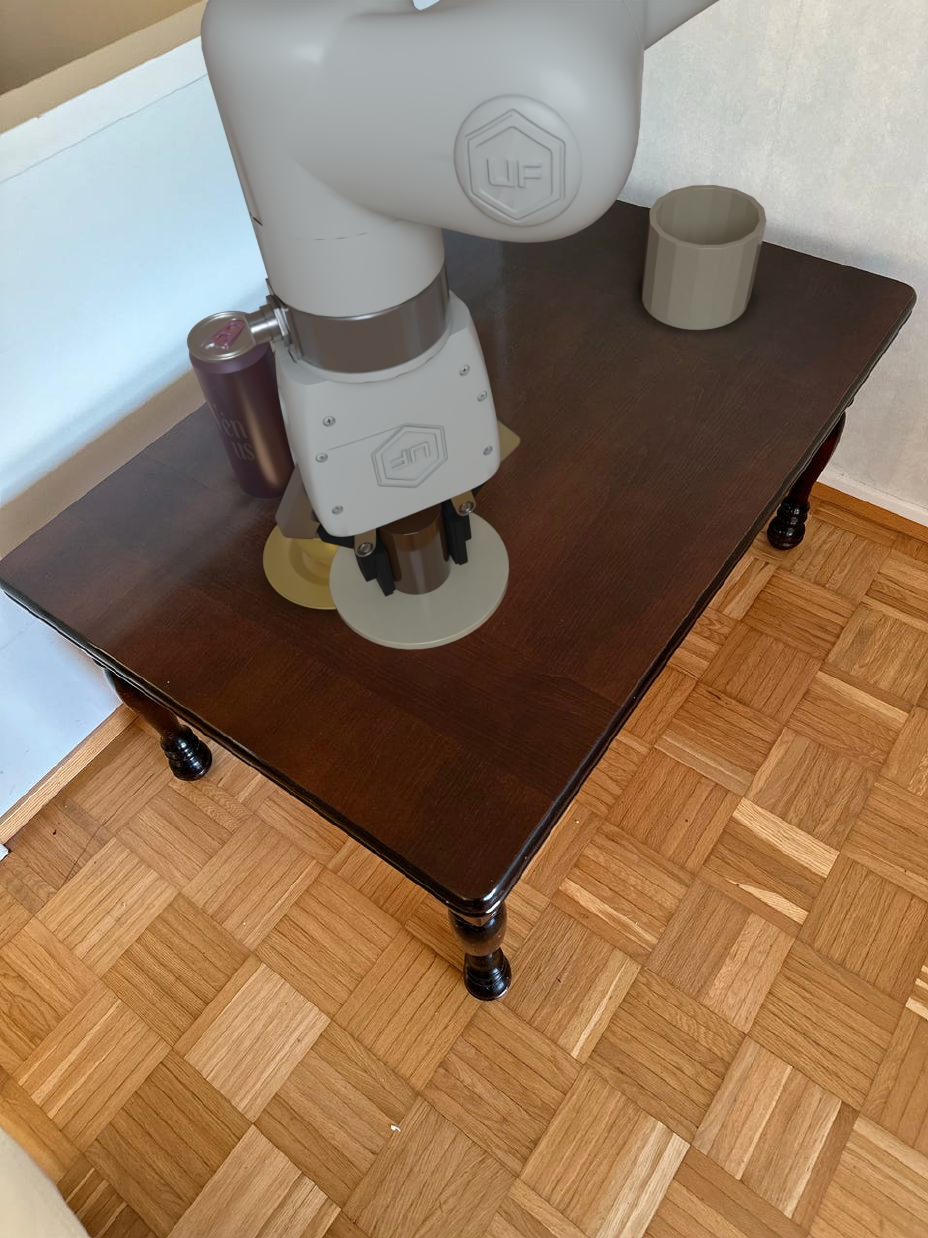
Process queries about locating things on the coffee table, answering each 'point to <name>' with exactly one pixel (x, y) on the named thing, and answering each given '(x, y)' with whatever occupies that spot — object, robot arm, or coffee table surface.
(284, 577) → the cup
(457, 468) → the robot arm
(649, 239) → the pot
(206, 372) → the beverage can
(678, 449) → the coffee table surface
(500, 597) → the lid
